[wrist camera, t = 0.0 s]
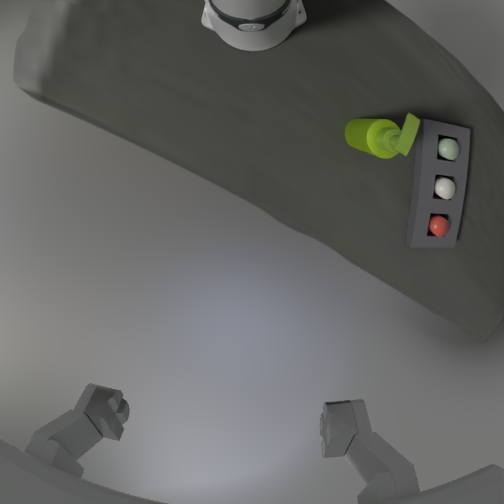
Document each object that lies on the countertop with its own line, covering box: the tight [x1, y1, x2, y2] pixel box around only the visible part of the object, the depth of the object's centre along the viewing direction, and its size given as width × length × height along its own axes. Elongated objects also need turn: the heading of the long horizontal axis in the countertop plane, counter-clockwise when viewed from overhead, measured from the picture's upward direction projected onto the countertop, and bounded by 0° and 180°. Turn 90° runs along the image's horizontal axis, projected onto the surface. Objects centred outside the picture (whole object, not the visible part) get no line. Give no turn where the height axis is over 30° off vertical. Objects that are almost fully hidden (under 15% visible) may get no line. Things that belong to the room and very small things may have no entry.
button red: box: [428, 214, 449, 237], centre depth 52 cm, size 4×4×3 cm
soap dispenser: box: [345, 113, 420, 159], centre depth 40 cm, size 6×7×20 cm
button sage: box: [437, 138, 459, 160], centre depth 46 cm, size 4×4×3 cm
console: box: [405, 118, 470, 247], centre depth 50 cm, size 26×12×3 cm, turn 2°
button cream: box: [434, 176, 455, 199], centre depth 49 cm, size 4×4×3 cm
